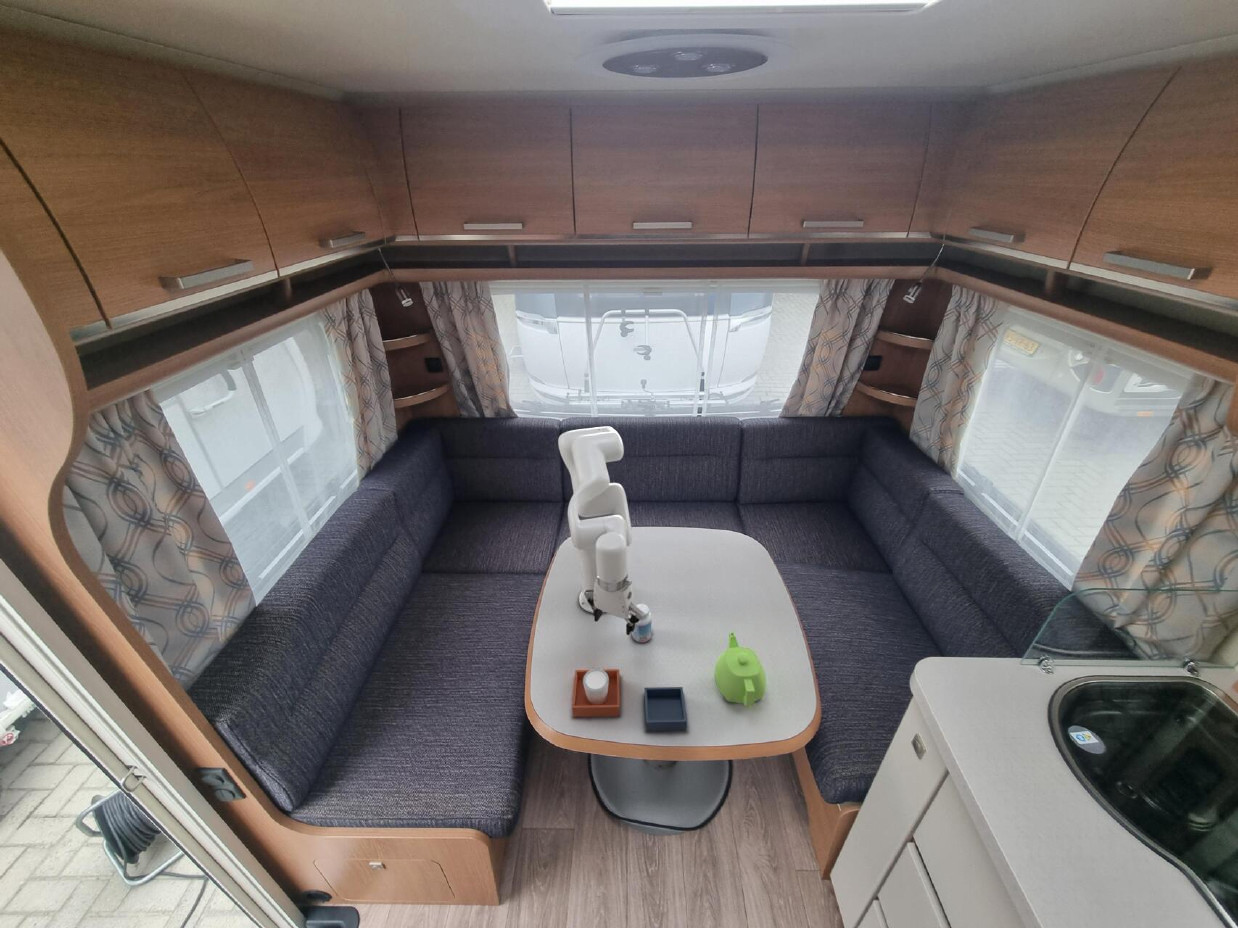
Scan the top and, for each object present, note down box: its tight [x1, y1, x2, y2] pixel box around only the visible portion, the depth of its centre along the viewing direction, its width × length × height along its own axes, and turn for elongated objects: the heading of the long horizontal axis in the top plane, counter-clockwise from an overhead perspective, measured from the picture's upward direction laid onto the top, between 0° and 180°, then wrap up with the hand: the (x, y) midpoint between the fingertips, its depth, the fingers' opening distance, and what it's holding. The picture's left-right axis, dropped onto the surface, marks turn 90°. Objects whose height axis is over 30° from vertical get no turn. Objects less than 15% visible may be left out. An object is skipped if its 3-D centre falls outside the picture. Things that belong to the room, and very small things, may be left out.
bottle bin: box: [643, 686, 688, 732], centre depth 128 cm, size 10×10×4 cm
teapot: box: [714, 631, 767, 708], centre depth 132 cm, size 20×13×13 cm
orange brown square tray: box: [571, 668, 621, 718], centre depth 132 cm, size 11×12×4 cm
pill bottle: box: [631, 603, 652, 643], centre depth 148 cm, size 6×6×11 cm
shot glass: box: [583, 668, 609, 705], centre depth 131 cm, size 7×7×7 cm
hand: (614, 624), depth 131 cm, fingers open, 9 cm apart
